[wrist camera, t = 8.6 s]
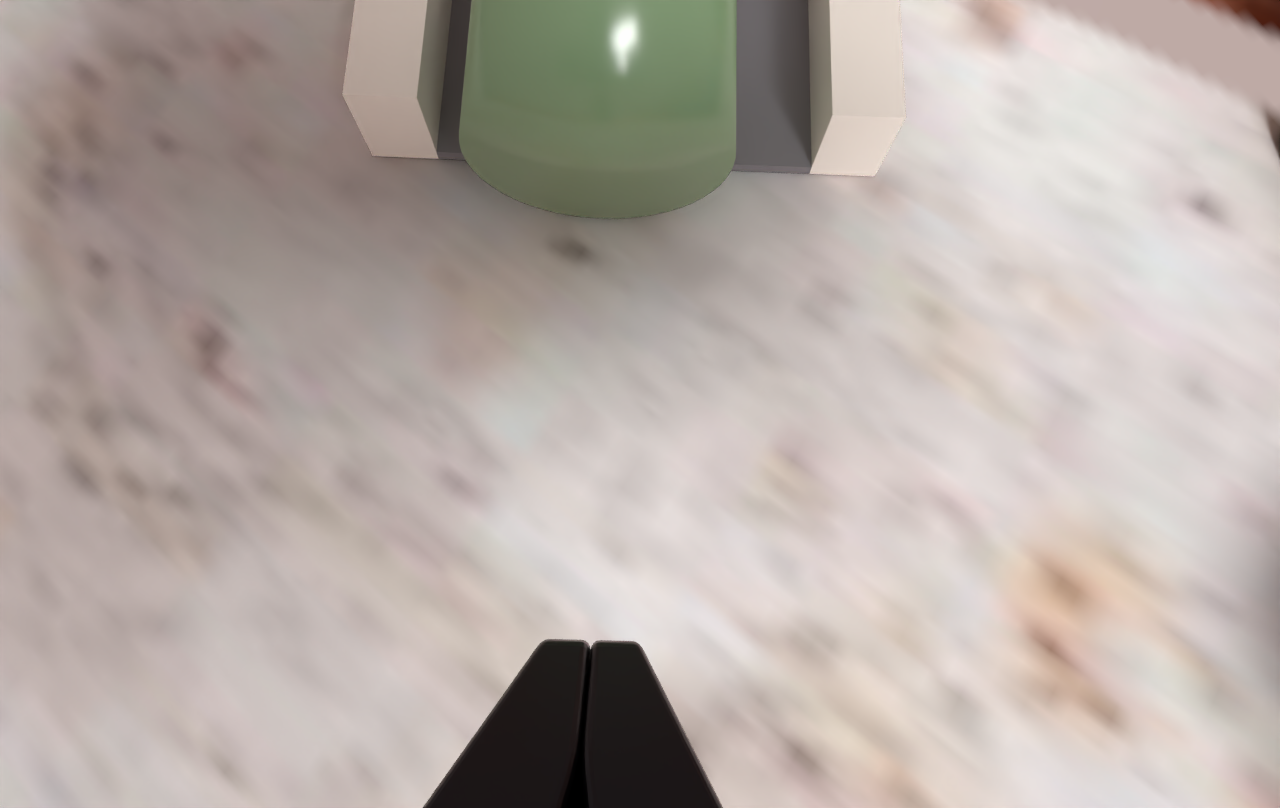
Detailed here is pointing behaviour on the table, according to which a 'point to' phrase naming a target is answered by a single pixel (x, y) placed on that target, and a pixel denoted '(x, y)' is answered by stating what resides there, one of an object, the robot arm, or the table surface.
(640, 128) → the bottle
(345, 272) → the table surface
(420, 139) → the rest
